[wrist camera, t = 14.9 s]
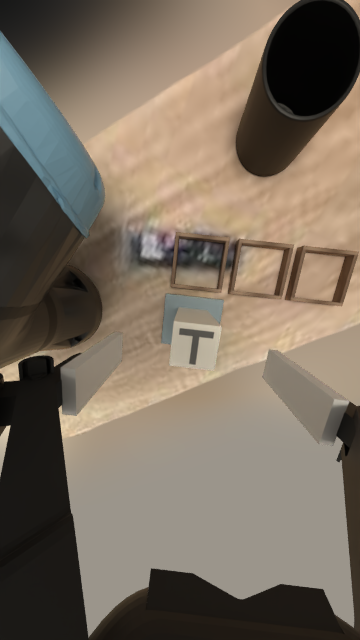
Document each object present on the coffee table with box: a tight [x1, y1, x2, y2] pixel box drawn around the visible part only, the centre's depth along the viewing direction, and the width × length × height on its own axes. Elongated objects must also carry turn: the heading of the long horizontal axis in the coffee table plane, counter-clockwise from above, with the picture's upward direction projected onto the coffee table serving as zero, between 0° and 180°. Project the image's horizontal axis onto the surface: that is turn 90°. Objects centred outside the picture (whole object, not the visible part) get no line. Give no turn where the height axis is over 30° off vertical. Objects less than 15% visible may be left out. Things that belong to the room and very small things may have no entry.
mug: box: [236, 0, 360, 176], centre depth 20 cm, size 9×12×9 cm
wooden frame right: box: [285, 246, 359, 306], centre depth 27 cm, size 8×8×2 cm
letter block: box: [169, 307, 222, 371], centre depth 24 cm, size 5×5×12 cm
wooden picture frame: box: [171, 232, 230, 292], centre depth 28 cm, size 8×8×2 cm
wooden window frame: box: [228, 239, 294, 299], centre depth 28 cm, size 8×8×2 cm
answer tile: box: [161, 293, 224, 344], centre depth 30 cm, size 10×9×1 cm
